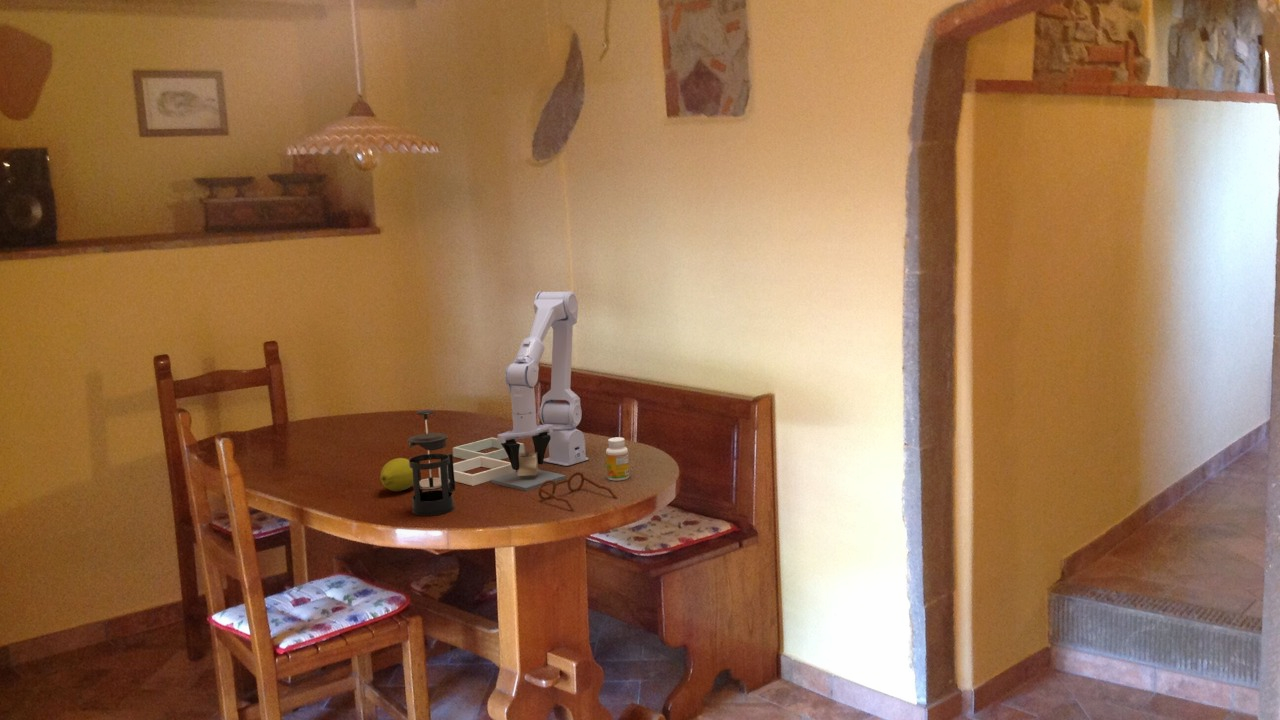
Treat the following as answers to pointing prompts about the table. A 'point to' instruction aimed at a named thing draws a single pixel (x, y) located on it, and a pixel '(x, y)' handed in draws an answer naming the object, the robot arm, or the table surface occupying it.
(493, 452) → the bin
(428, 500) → the french press
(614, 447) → the supplement bottle
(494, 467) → the bin
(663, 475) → the table surface
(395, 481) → the lemon
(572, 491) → the glasses
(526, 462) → the letter cube
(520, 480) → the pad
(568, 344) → the robot arm
